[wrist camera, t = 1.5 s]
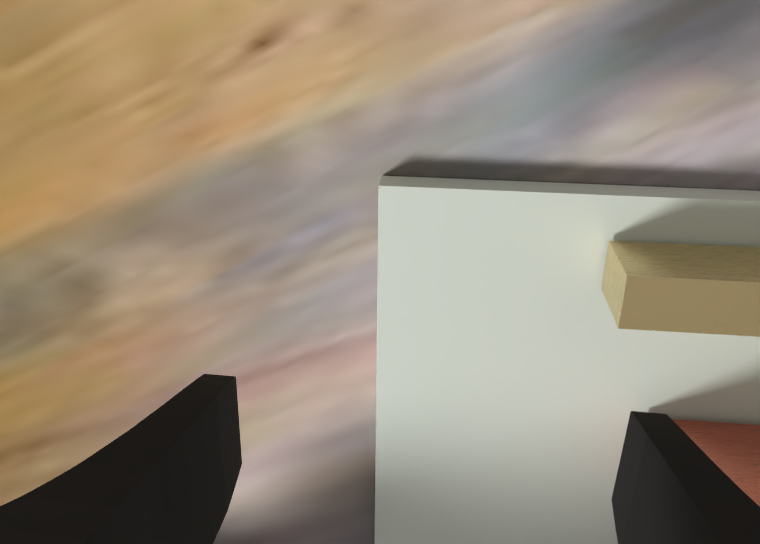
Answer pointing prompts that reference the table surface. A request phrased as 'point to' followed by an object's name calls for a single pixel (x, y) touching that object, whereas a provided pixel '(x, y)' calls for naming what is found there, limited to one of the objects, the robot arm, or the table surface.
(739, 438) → the mallet
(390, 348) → the board
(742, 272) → the keeper bar
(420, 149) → the table surface
